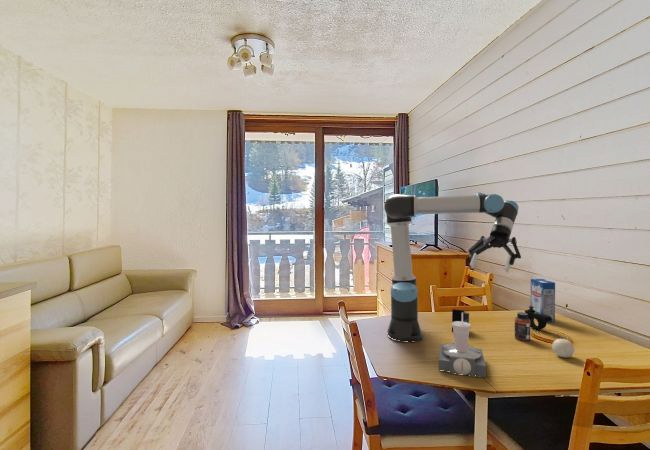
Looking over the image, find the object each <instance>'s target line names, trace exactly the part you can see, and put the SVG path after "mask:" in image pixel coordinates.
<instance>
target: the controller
mask: <svg viewBox="0 0 650 450" xmlns="http://www.w3.org/2000/svg"><path fill="white" fill-rule="evenodd" d="M533 308H534V307H532V306H530V305H529V306H528V309H524V313H527V314H528V318H529V319H530V329H533V330H535V329H540V330H543V329H545V328H546V327H547V325H548V323H550V322H549V321H552V318H551V316H548V315H545V314H542V313H540V312H536V311H535V310H533ZM535 320H536V321H537V325H536V323H535Z"/></svg>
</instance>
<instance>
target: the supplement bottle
mask: <svg viewBox="0 0 650 450" xmlns="http://www.w3.org/2000/svg"><path fill="white" fill-rule="evenodd" d="M516 314H517V315H516V317H515V318H514V339H517V341H523V342H529V341H530V340H531V327H530V319H529V318H528V314H527V313H525V311H524V312H523V311H522V312H521V311H518V312H517V313H516Z"/></svg>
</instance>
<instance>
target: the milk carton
mask: <svg viewBox="0 0 650 450" xmlns="http://www.w3.org/2000/svg"><path fill="white" fill-rule="evenodd" d="M529 306H532V307H534V308H533V310H535V311H536V312H540V313H542V314H545V315H548V316H551V318H552V321H549V322H548V323H555V321H556V282H554V281H551V280H548V279H545V278H530V305H529Z"/></svg>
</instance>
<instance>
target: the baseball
mask: <svg viewBox="0 0 650 450" xmlns="http://www.w3.org/2000/svg"><path fill="white" fill-rule="evenodd" d="M551 345H552V351H553V352H554V353H555V355H557V356H558V357H561V358H567V359H568V358H571V357H572V356H573V355H574V353H575V346H574V344H573V343H572V342H571V341H570V340H568V339H565V338H557V339H555V340H554V341H553V342H552V344H551Z"/></svg>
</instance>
